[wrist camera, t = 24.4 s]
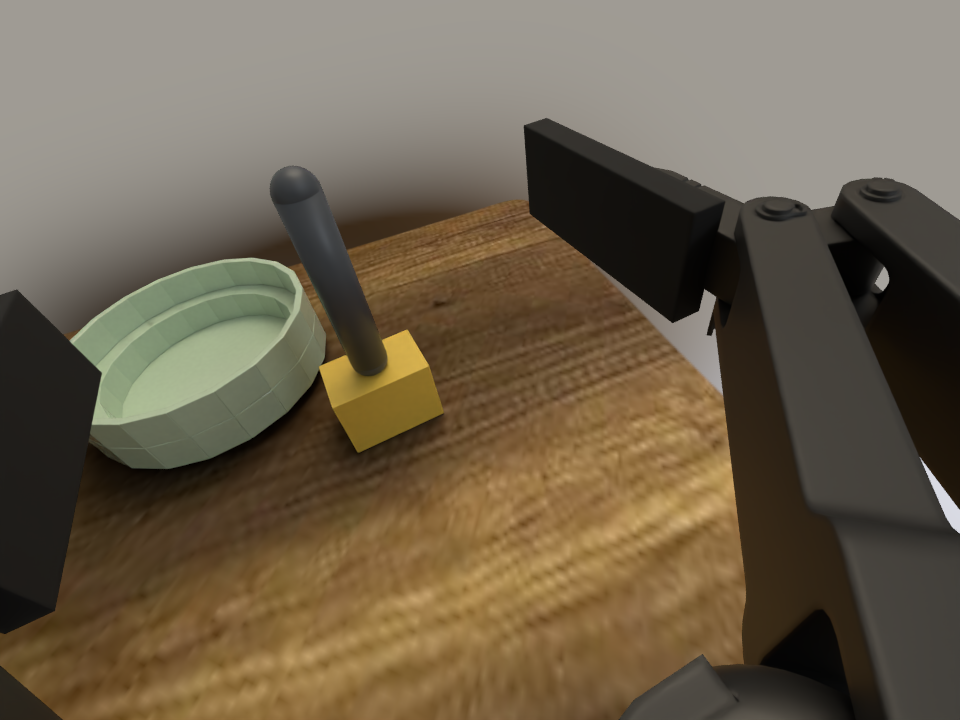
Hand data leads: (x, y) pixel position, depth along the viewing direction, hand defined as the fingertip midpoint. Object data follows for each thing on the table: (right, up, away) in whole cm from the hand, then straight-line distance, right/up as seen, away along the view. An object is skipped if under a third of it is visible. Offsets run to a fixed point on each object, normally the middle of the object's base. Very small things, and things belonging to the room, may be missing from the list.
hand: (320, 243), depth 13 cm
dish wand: (-2, -7, +19) cm, 20 cm away
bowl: (-16, -5, +24) cm, 29 cm away
